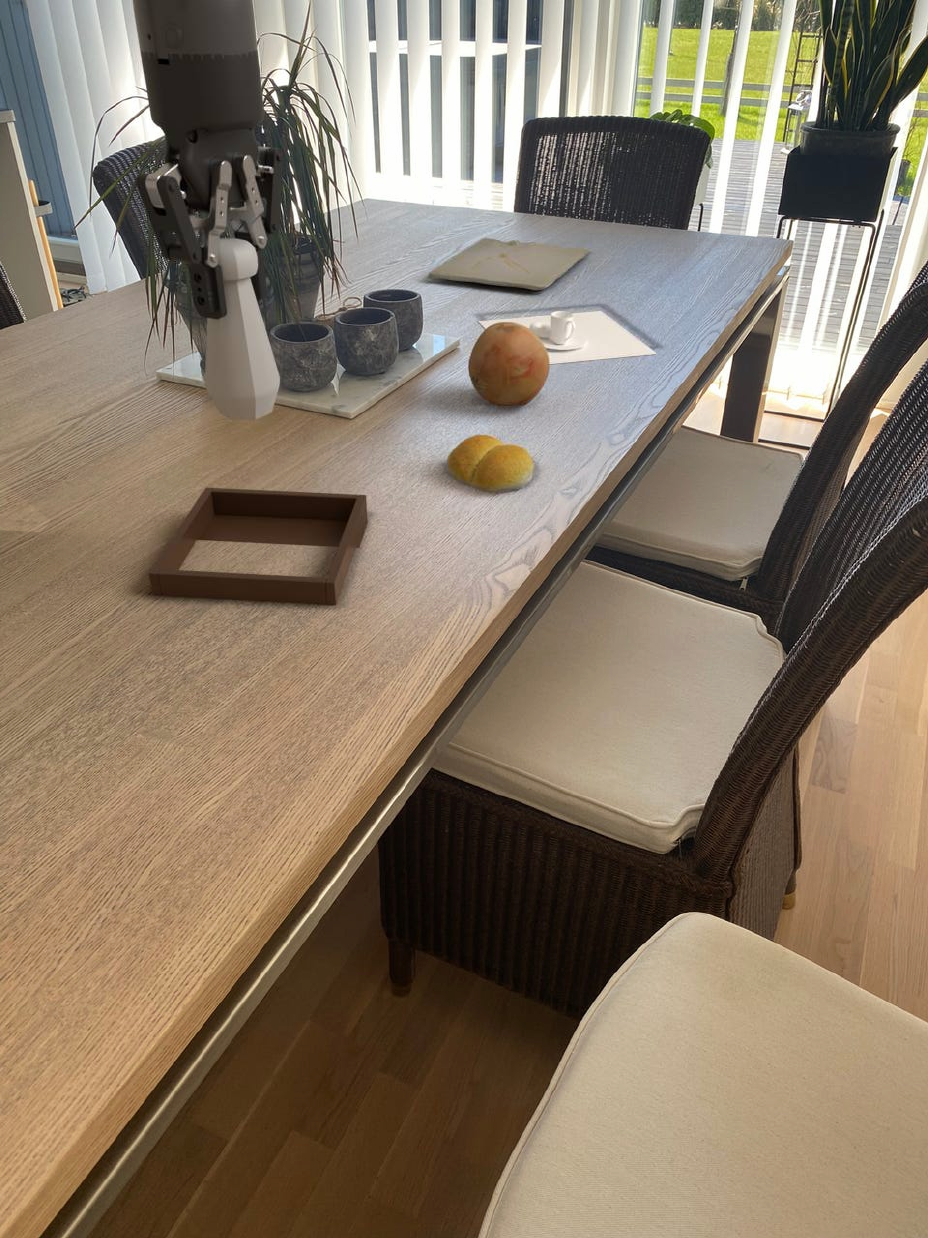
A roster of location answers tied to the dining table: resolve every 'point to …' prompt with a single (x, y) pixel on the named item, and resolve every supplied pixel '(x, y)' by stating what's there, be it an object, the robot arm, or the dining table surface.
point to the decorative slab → (510, 264)
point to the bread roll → (490, 464)
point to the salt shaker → (240, 342)
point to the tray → (269, 523)
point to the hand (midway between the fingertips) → (232, 306)
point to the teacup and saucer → (580, 336)
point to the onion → (508, 364)
